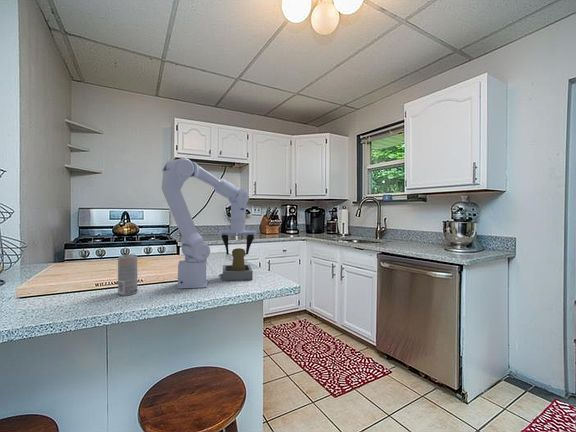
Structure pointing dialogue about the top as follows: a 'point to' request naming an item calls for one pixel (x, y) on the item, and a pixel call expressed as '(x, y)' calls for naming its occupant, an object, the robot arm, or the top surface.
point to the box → (237, 273)
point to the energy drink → (127, 274)
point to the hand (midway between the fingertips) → (237, 254)
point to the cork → (238, 260)
